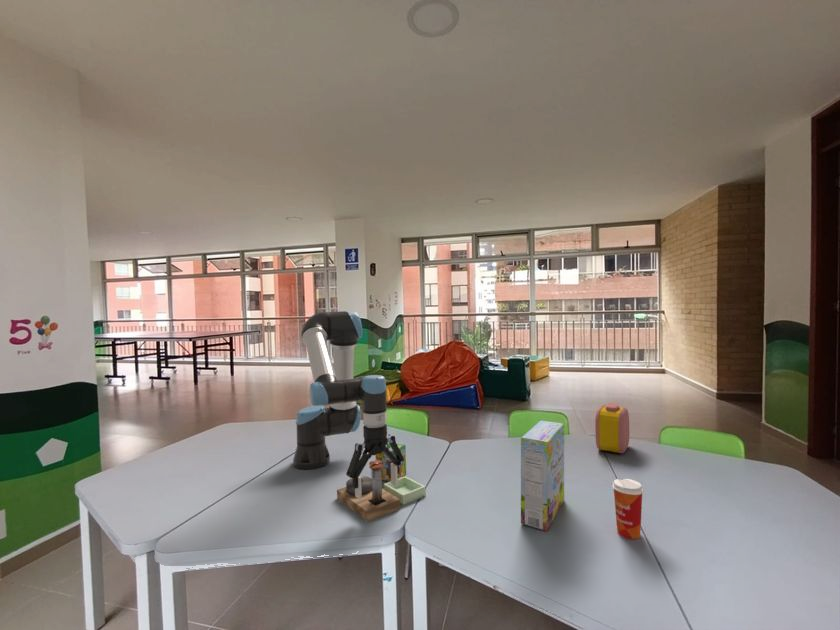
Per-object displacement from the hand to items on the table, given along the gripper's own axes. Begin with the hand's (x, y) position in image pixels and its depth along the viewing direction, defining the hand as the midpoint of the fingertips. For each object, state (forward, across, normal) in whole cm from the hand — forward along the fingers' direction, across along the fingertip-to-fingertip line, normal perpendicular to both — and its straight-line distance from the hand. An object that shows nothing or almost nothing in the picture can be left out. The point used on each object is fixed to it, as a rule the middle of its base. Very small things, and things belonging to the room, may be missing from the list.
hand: (377, 490), depth 126 cm
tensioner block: (+6, 0, +6) cm, 9 cm away
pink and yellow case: (+7, +107, -25) cm, 110 cm away
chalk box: (+7, +18, +18) cm, 26 cm away
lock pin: (+6, 0, 0) cm, 6 cm away
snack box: (+7, +38, -36) cm, 53 cm away
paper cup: (+6, +45, -58) cm, 74 cm away
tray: (+6, +13, +3) cm, 15 cm away
